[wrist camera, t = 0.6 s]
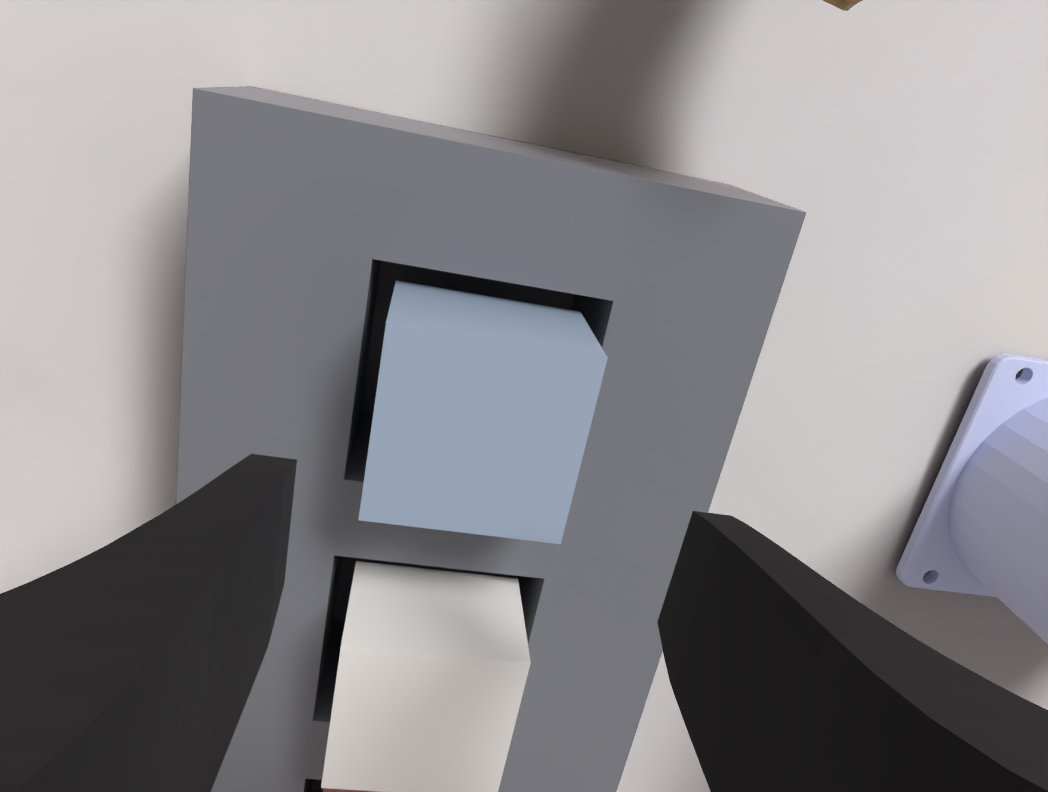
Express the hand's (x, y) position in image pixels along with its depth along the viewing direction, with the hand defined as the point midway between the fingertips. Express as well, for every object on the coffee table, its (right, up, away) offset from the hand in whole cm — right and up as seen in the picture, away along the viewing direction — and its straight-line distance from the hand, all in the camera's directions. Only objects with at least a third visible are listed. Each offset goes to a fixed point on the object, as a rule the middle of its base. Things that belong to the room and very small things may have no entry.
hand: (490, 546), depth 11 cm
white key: (-2, -4, +8) cm, 10 cm away
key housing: (-2, -2, +12) cm, 13 cm away
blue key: (-1, +2, +6) cm, 6 cm away
